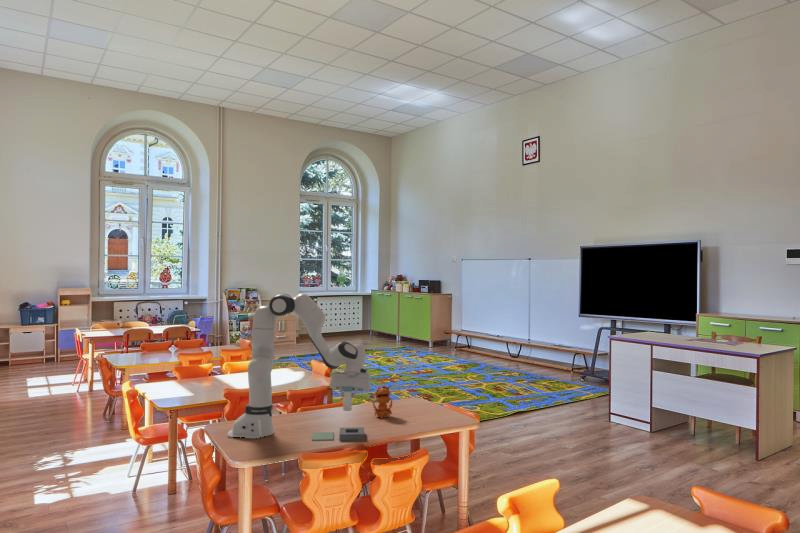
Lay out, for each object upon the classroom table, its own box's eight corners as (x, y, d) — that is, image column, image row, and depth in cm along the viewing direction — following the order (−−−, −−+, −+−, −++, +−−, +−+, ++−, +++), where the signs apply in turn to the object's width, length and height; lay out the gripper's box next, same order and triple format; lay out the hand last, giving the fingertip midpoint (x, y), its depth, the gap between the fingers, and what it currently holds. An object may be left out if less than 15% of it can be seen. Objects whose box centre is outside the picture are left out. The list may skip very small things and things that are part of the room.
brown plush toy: (375, 419, 304) (375, 387, 304) (371, 415, 314) (371, 383, 314) (394, 418, 307) (395, 386, 307) (389, 414, 317) (390, 383, 317)
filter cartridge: (342, 411, 265) (343, 388, 265) (342, 408, 269) (343, 386, 269) (351, 411, 265) (352, 388, 265) (351, 408, 269) (352, 386, 270)
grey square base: (339, 442, 260) (339, 434, 260) (339, 435, 272) (339, 427, 272) (364, 442, 261) (364, 434, 261) (363, 435, 273) (363, 427, 273)
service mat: (311, 442, 260) (312, 439, 260) (313, 435, 272) (313, 432, 272) (333, 442, 261) (333, 439, 261) (333, 435, 273) (333, 432, 273)
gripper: (332, 368, 276) (325, 391, 266) (371, 370, 273) (366, 394, 263) (334, 375, 280) (328, 398, 270) (373, 378, 277) (368, 401, 267)
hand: (347, 396), depth 266 cm, fingers closed on filter cartridge, 4 cm apart
